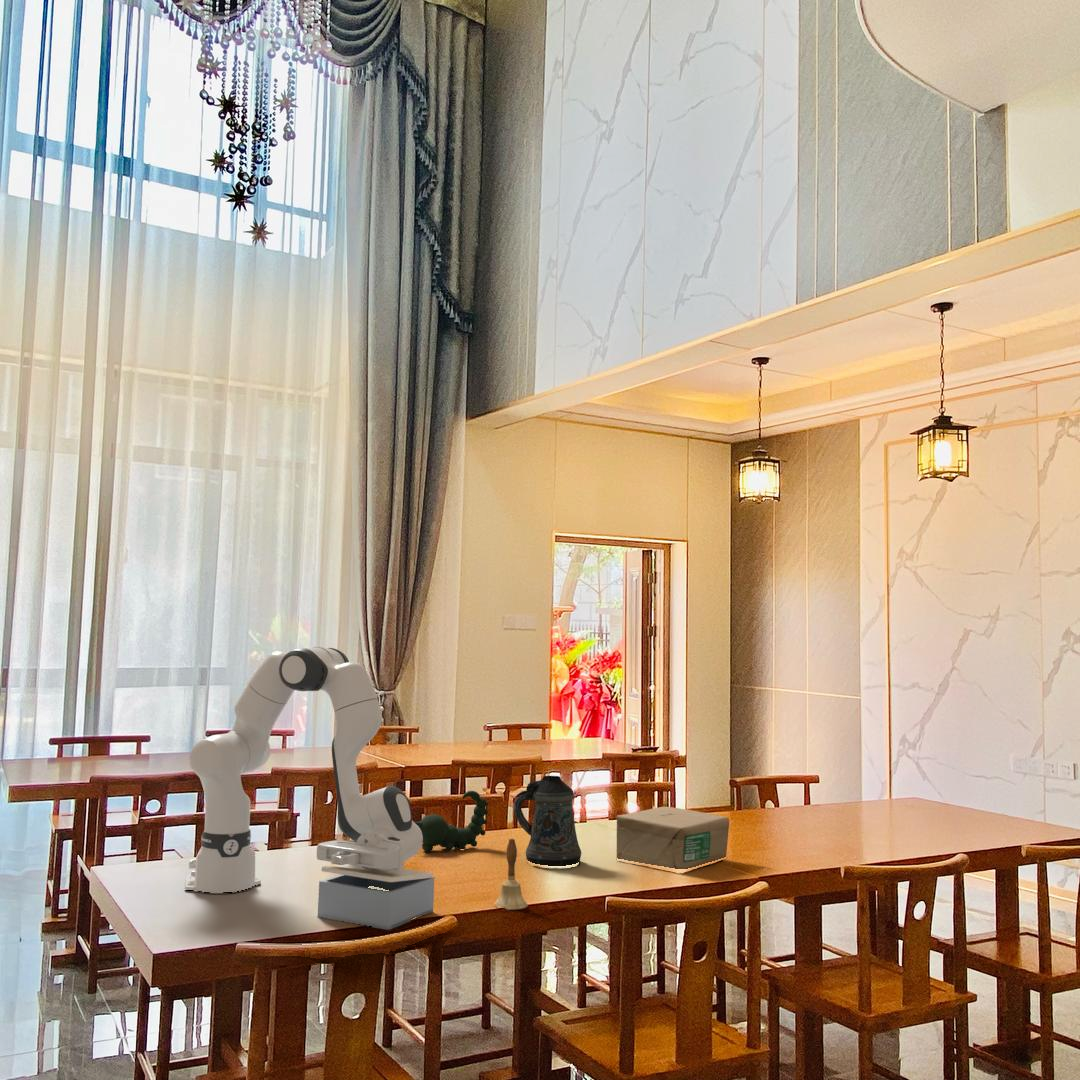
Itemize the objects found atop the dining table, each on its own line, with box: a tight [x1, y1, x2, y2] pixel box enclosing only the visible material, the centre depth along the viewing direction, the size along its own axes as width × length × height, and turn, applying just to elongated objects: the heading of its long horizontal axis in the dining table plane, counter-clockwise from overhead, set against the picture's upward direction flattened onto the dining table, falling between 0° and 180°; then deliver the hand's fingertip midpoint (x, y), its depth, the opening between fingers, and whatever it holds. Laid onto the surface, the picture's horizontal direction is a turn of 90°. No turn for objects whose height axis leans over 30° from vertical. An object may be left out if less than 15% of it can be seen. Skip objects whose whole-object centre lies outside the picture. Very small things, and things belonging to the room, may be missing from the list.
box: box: [317, 874, 435, 931], centre depth 237 cm, size 18×20×8 cm
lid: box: [321, 864, 434, 882], centre depth 237 cm, size 17×20×1 cm
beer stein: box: [513, 775, 582, 866], centre depth 297 cm, size 16×19×25 cm
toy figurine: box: [413, 790, 489, 853], centre depth 312 cm, size 9×19×25 cm
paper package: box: [616, 806, 730, 869], centre depth 305 cm, size 27×26×14 cm
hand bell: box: [494, 838, 529, 911], centre depth 248 cm, size 8×8×16 cm
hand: (336, 860), depth 224 cm, fingers closed
